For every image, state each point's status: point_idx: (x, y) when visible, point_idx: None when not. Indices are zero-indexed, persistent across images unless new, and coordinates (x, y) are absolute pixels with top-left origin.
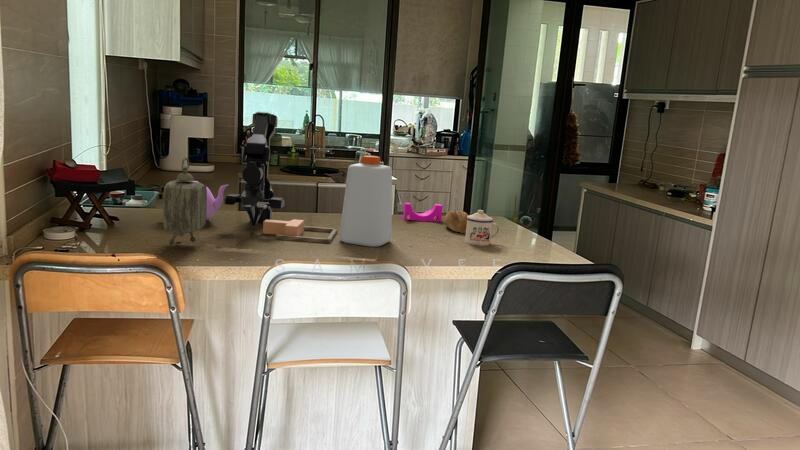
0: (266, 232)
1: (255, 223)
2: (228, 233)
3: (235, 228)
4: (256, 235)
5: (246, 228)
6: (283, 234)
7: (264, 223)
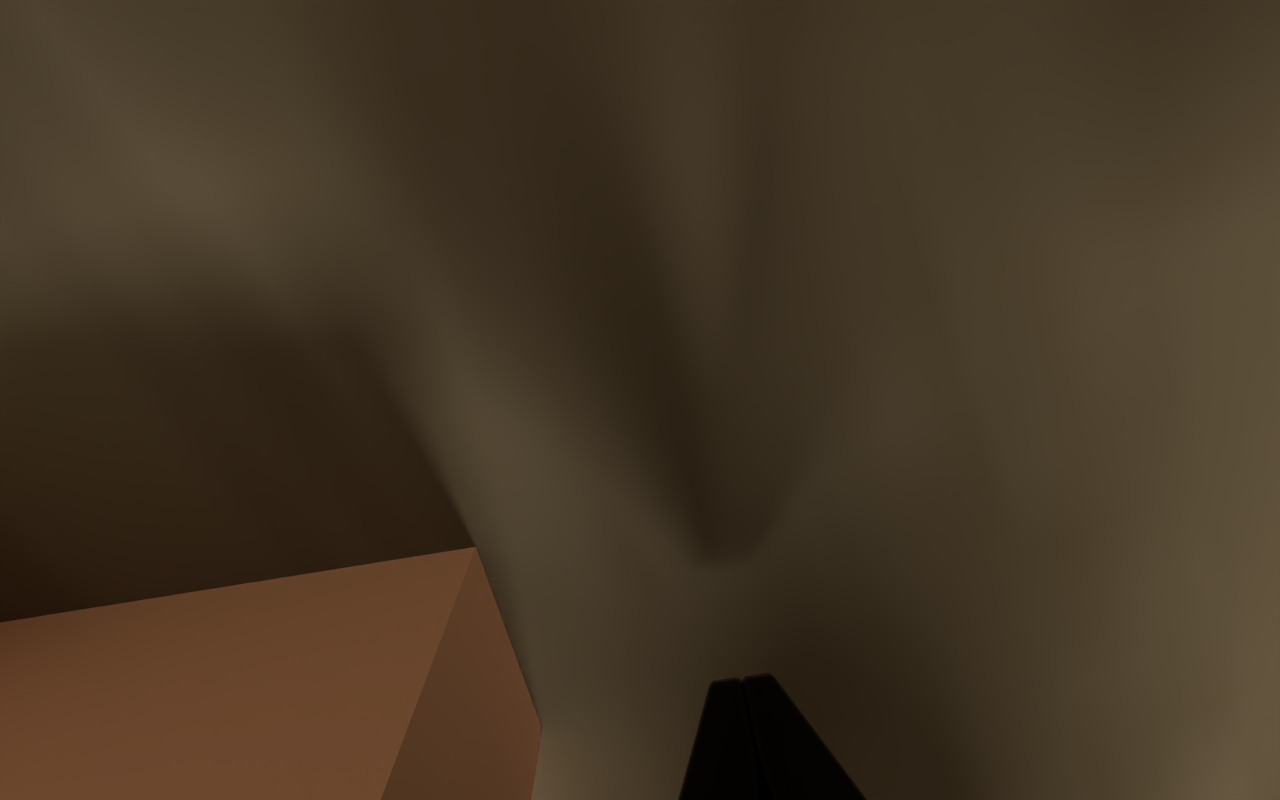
0: (390, 575)
1: (697, 757)
2: (1254, 97)
3: (1154, 655)
4: (469, 275)
5: (948, 738)
6: (46, 622)
7: (357, 767)
